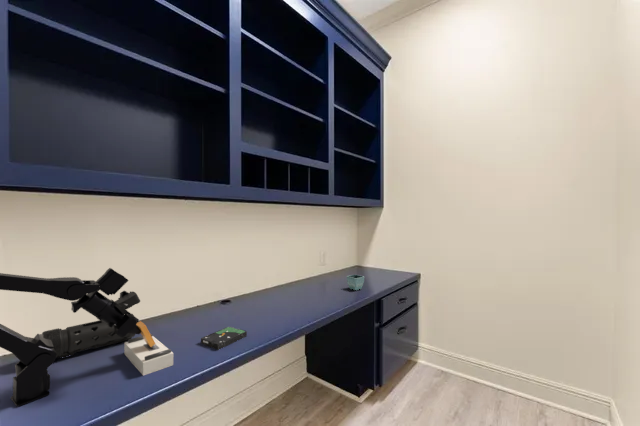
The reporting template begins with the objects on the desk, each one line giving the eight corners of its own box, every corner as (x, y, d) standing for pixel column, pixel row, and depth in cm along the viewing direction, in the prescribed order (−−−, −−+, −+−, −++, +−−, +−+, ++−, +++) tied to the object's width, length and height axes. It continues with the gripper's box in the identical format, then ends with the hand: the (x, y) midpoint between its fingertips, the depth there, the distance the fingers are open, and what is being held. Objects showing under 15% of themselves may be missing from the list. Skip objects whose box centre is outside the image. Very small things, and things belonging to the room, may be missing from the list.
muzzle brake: (136, 342, 115) (136, 315, 115) (37, 370, 94) (37, 337, 94) (128, 335, 122) (128, 310, 122) (33, 360, 101) (34, 329, 101)
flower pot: (355, 292, 194) (356, 278, 194) (346, 289, 201) (346, 275, 201) (364, 289, 200) (364, 276, 200) (354, 287, 207) (355, 274, 207)
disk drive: (218, 352, 110) (247, 337, 123) (219, 344, 110) (247, 330, 123) (200, 345, 115) (229, 331, 128) (200, 338, 115) (229, 325, 128)
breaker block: (143, 375, 92) (143, 359, 92) (124, 354, 106) (124, 339, 106) (173, 365, 99) (173, 349, 99) (152, 345, 112) (152, 332, 112)
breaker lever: (152, 350, 101) (141, 328, 98) (146, 344, 105) (135, 323, 102) (157, 346, 102) (145, 325, 99) (151, 341, 106) (140, 320, 103)
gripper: (131, 291, 90) (169, 318, 98) (115, 280, 103) (149, 305, 111) (99, 323, 84) (141, 350, 92) (86, 308, 97) (124, 332, 105)
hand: (140, 332), depth 100 cm, fingers closed, pressing on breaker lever
